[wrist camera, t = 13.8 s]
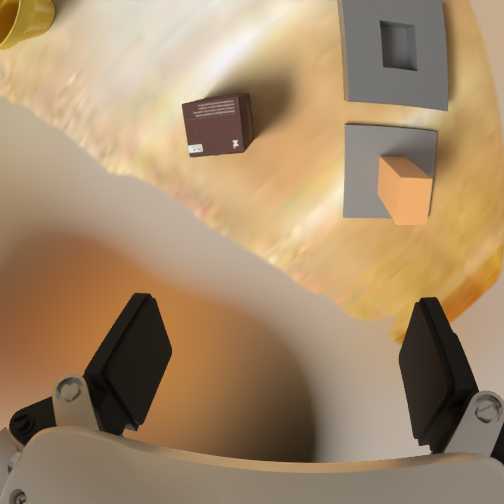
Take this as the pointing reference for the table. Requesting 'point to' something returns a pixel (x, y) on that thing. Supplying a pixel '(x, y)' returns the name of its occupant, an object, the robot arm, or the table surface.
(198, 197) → the table surface
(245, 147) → the box
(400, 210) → the plug
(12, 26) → the plant pot
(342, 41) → the socket block
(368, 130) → the mat
